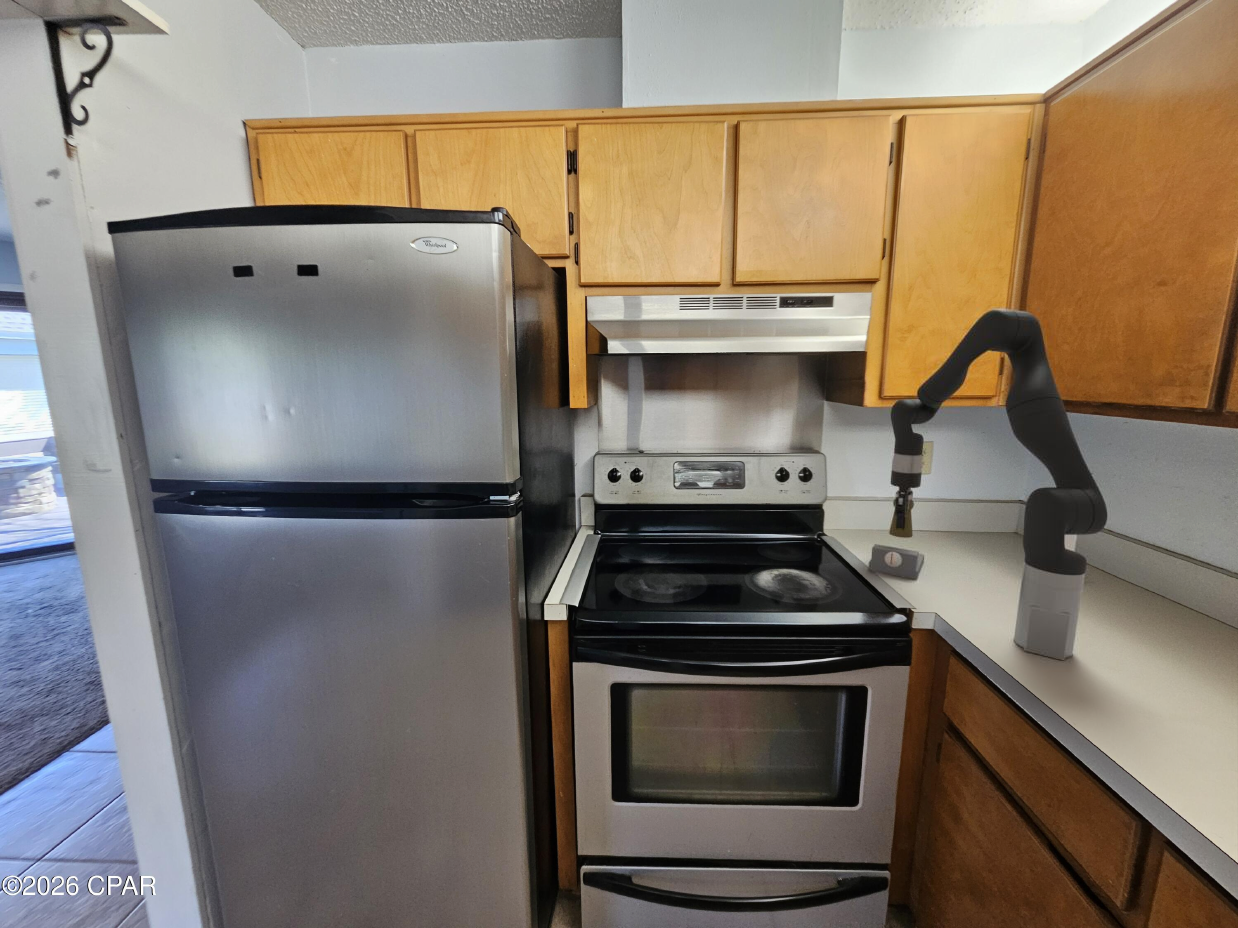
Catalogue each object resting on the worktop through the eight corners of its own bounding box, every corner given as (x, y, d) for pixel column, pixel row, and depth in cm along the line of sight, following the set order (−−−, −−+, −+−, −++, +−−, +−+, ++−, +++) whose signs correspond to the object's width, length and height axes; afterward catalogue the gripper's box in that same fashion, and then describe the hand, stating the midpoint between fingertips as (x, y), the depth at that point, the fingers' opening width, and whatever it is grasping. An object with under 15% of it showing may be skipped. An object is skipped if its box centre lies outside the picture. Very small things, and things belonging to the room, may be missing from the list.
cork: (889, 535, 145) (892, 499, 143) (888, 530, 150) (891, 494, 148) (913, 538, 142) (916, 501, 140) (912, 532, 147) (915, 496, 145)
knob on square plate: (916, 580, 136) (918, 556, 134) (868, 570, 143) (869, 547, 141) (923, 562, 149) (925, 540, 147) (879, 554, 156) (880, 533, 154)
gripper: (918, 474, 135) (912, 536, 138) (924, 467, 146) (919, 523, 149) (887, 472, 139) (882, 531, 142) (895, 464, 150) (891, 519, 153)
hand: (901, 527), depth 145 cm, fingers closed on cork, 3 cm apart
